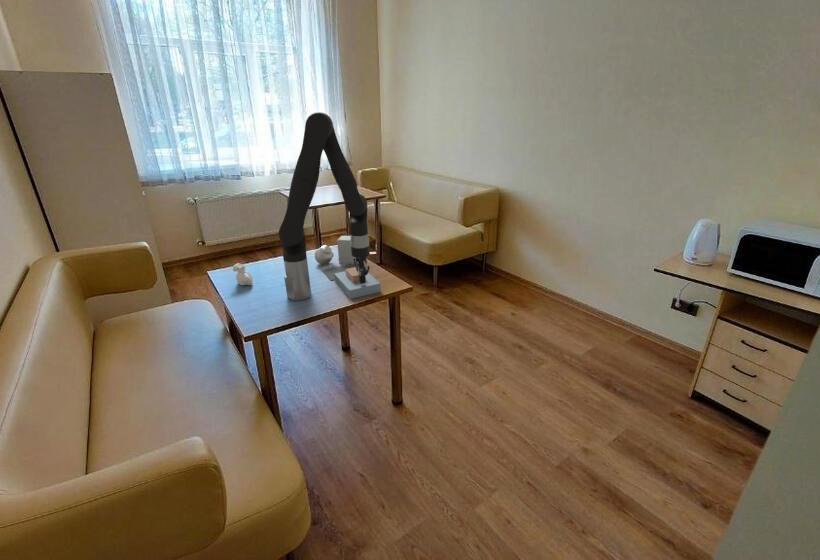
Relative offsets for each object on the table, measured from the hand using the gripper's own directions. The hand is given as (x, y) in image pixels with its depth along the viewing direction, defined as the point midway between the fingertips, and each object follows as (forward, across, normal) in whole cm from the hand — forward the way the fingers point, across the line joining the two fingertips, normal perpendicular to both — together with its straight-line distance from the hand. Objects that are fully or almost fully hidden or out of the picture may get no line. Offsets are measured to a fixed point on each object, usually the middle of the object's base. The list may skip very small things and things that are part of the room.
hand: (362, 282), depth 175 cm
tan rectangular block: (+1, +8, 0) cm, 9 cm away
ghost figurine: (+5, +40, +5) cm, 41 cm away
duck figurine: (+5, +36, +44) cm, 57 cm away
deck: (+5, +8, 0) cm, 9 cm away
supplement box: (+5, +38, -7) cm, 39 cm away
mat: (+5, +26, 0) cm, 26 cm away
